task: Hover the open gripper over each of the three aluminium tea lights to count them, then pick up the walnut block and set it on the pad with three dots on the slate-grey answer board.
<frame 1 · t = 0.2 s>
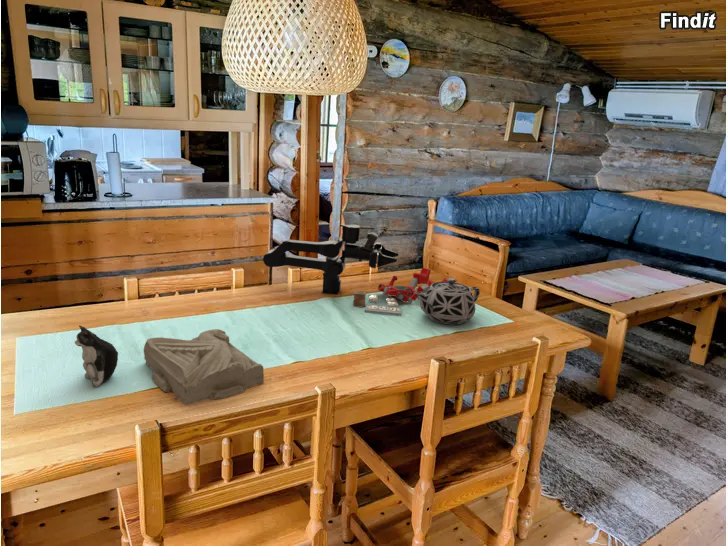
hand: (397, 257, 217), 17 cm above the table, tool horizontal, fingers open, 9 cm apart
toy robot: (411, 295, 226), on the table
tealight 2: (391, 303, 215), on the table
sculpture: (203, 374, 150), on the table
teapot: (444, 319, 202), on the table
tealight 1: (373, 301, 216), on the table
figurine: (97, 379, 143), on the table
block: (359, 304, 211), on the table
answer board: (383, 310, 206), on the table
tealight 3: (392, 307, 211), on the table
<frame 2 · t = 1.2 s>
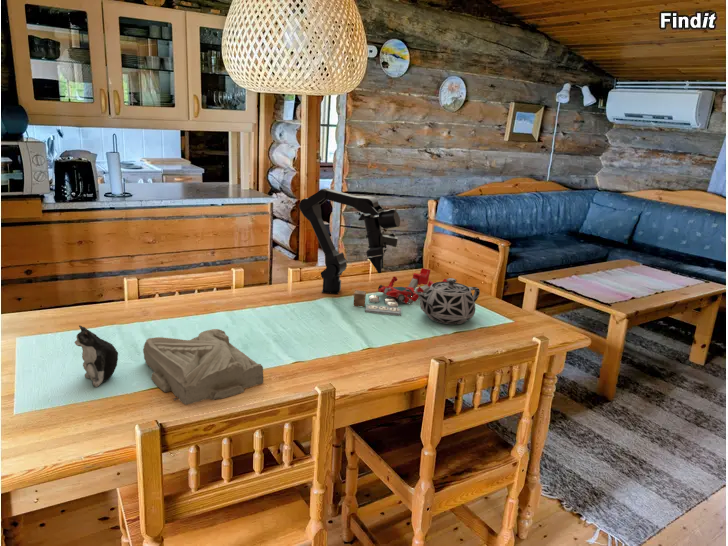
hand: (380, 270, 213), 12 cm above the table, tool tilted 15°, fingers open, 9 cm apart
toy robot: (411, 296, 226), on the table, touching tealight 2
tealight 2: (390, 303, 214), on the table, touching toy robot
everything else where it was.
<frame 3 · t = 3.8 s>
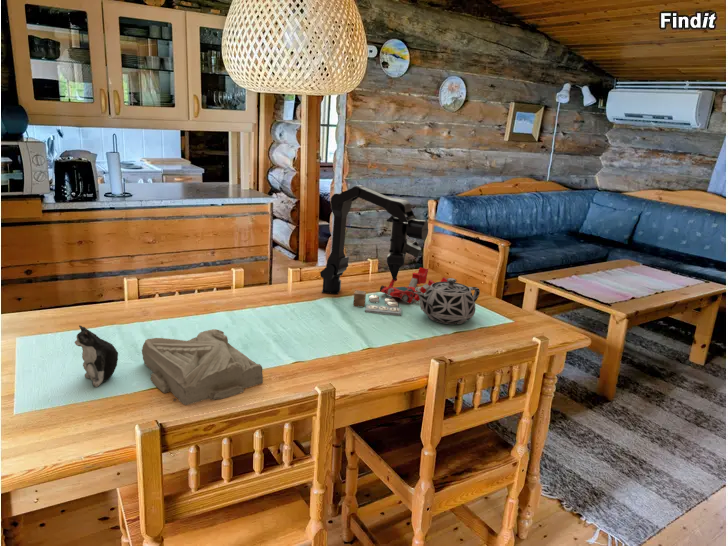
hand: (395, 276, 207), 12 cm above the table, tool pointing down, fingers open, 9 cm apart
toy robot: (412, 296, 226), on the table
tealight 2: (389, 303, 214), on the table
everything else where it was.
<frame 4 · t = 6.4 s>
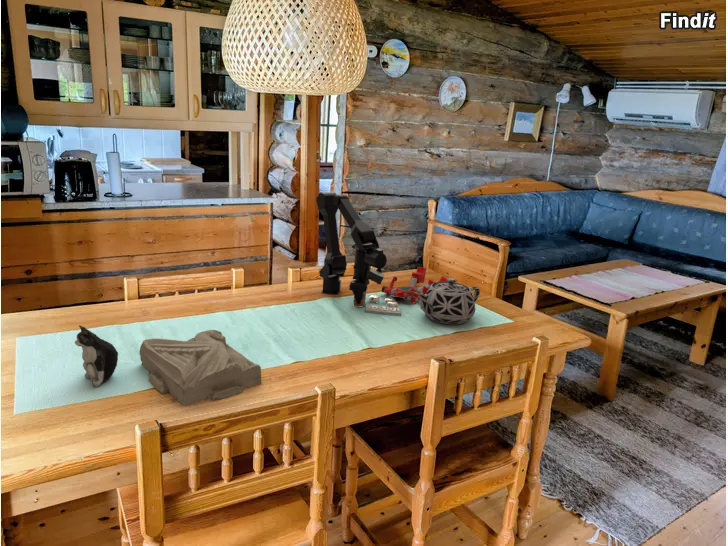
hand: (359, 302, 210), 1 cm above the table, tool pointing down, fingers closed on block, 4 cm apart
block: (359, 304, 211), on the table, touching gripper
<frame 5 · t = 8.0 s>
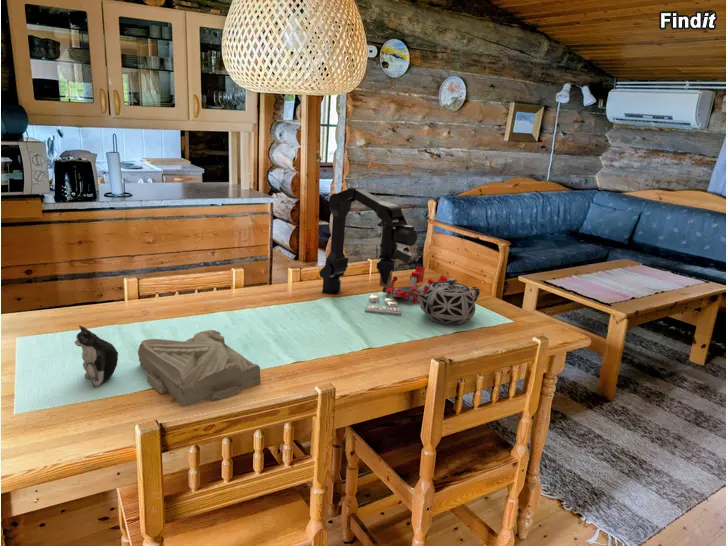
hand: (385, 282, 203), 11 cm above the table, tool pointing down, fingers closed on block, 4 cm apart
block: (385, 285, 203), point 10 cm above the table, touching gripper
when the fingers open (3 cm above the table, at t = 9.7 s): block stays where it is, resting on answer board.
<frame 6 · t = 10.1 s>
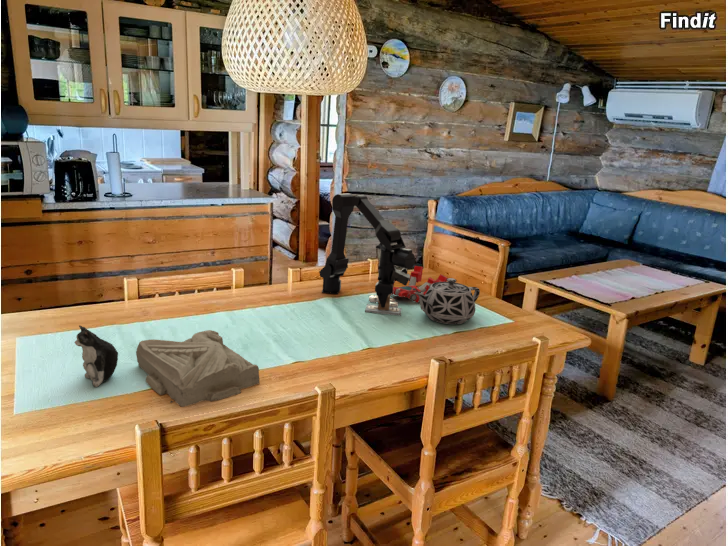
hand: (383, 303, 205), 3 cm above the table, tool pointing down, fingers open, 8 cm apart
block: (383, 308, 206), point 1 cm above the table, touching answer board
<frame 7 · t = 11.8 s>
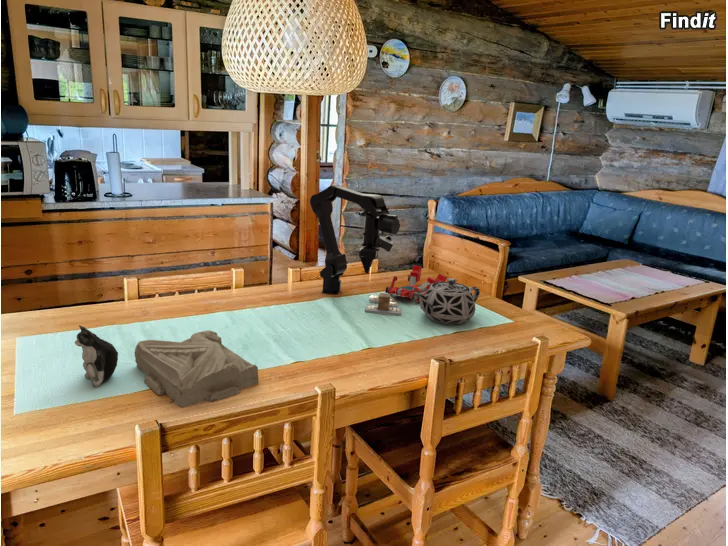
hand: (368, 269, 211), 13 cm above the table, tool pointing down, fingers open, 9 cm apart
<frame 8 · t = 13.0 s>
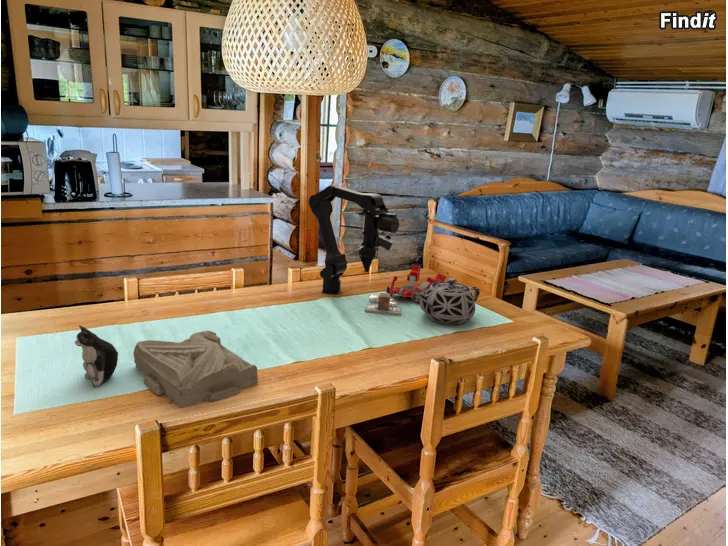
hand: (368, 268, 211), 13 cm above the table, tool pointing down, fingers open, 9 cm apart
at the end: block 0.0 cm off-centre on the answer board, point 1.1 cm above the answer board's base; block tilted 0°; the gripper is holding nothing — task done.
